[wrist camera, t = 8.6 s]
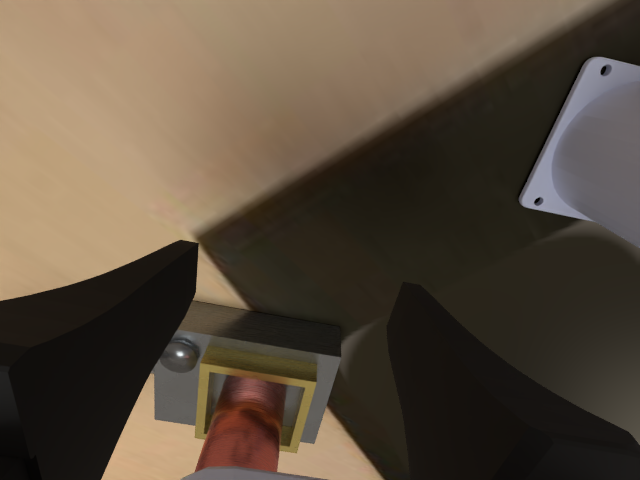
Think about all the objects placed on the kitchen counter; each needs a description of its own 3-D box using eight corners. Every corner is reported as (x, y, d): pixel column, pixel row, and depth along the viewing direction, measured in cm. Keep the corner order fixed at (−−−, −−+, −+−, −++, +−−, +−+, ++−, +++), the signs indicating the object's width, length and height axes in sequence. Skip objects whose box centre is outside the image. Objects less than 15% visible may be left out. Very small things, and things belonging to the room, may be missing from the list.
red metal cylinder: (291, 373, 24) (276, 504, 17) (281, 418, 26) (264, 554, 18) (225, 363, 23) (181, 492, 16) (219, 409, 25) (178, 543, 18)
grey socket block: (339, 326, 26) (341, 375, 22) (315, 409, 30) (313, 463, 26) (149, 293, 25) (115, 337, 21) (150, 383, 29) (121, 435, 25)
